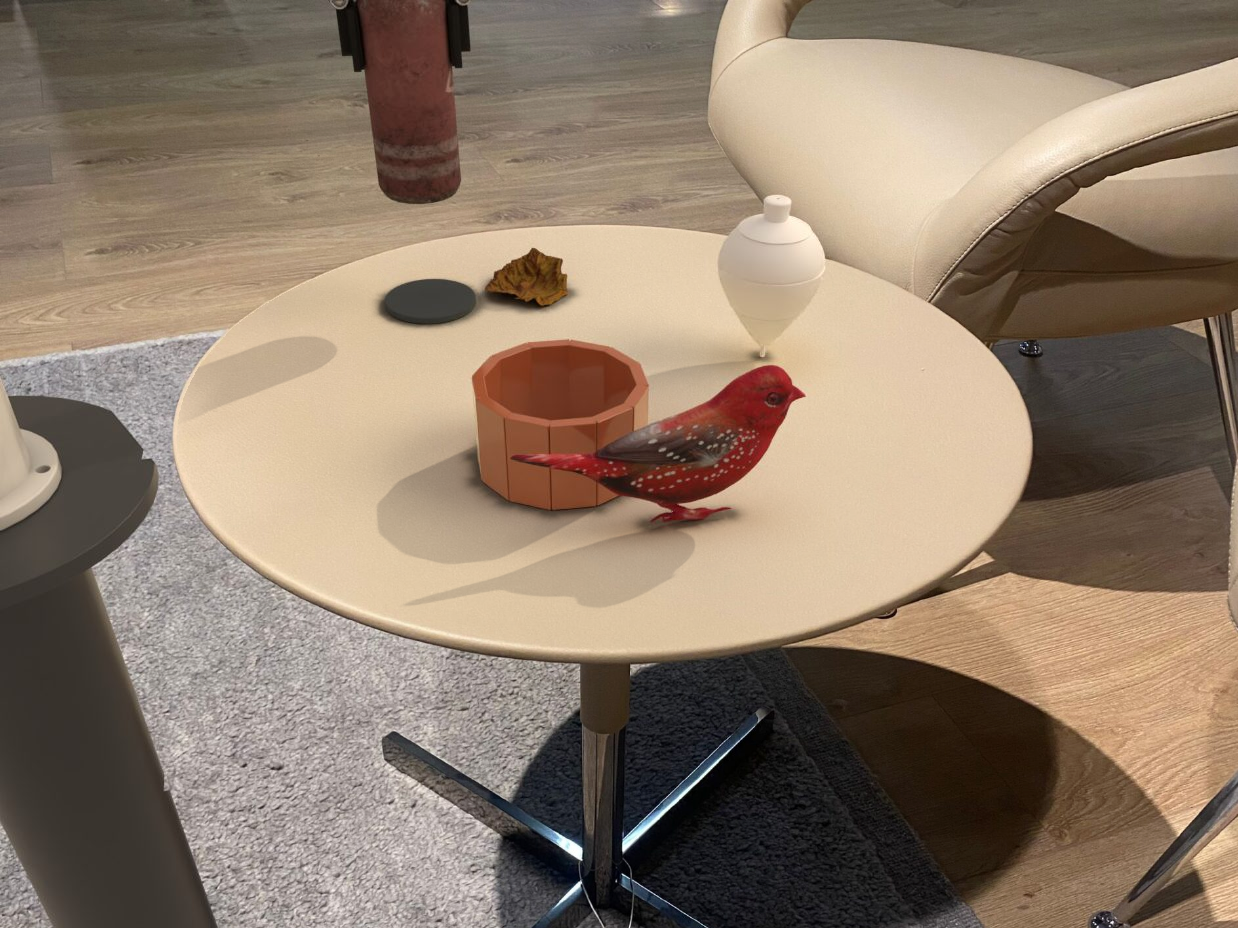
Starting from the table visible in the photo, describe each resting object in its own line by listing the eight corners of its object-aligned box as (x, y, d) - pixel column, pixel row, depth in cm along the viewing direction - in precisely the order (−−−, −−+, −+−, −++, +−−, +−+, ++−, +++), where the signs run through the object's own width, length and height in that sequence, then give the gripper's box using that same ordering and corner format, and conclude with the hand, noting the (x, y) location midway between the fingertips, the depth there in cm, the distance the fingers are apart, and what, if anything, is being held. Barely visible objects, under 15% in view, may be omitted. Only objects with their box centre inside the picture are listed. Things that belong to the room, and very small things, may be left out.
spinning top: (831, 371, 88) (854, 211, 80) (738, 389, 86) (752, 226, 78) (784, 326, 93) (801, 172, 86) (695, 342, 91) (704, 185, 83)
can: (400, 171, 92) (377, -31, 83) (474, 182, 91) (459, -22, 82) (361, 198, 88) (333, -11, 79) (439, 210, 87) (419, -2, 77)
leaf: (470, 295, 97) (469, 277, 96) (521, 258, 101) (520, 240, 100) (535, 323, 95) (534, 305, 93) (583, 284, 99) (584, 266, 97)
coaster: (387, 327, 92) (386, 321, 92) (383, 287, 98) (383, 281, 97) (479, 320, 93) (479, 314, 93) (471, 281, 99) (471, 275, 98)
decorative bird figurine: (800, 518, 74) (820, 373, 67) (519, 559, 70) (511, 410, 64) (783, 492, 76) (801, 349, 69) (510, 531, 72) (501, 384, 66)
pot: (487, 516, 73) (481, 432, 69) (472, 426, 81) (465, 346, 77) (659, 500, 75) (662, 417, 71) (627, 413, 83) (628, 334, 79)
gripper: (511, -257, 76) (523, 45, 88) (232, -258, 73) (283, 54, 85) (525, -246, 70) (536, 76, 82) (224, -247, 68) (280, 86, 80)
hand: (407, 62), depth 84 cm, fingers closed on can, 6 cm apart
